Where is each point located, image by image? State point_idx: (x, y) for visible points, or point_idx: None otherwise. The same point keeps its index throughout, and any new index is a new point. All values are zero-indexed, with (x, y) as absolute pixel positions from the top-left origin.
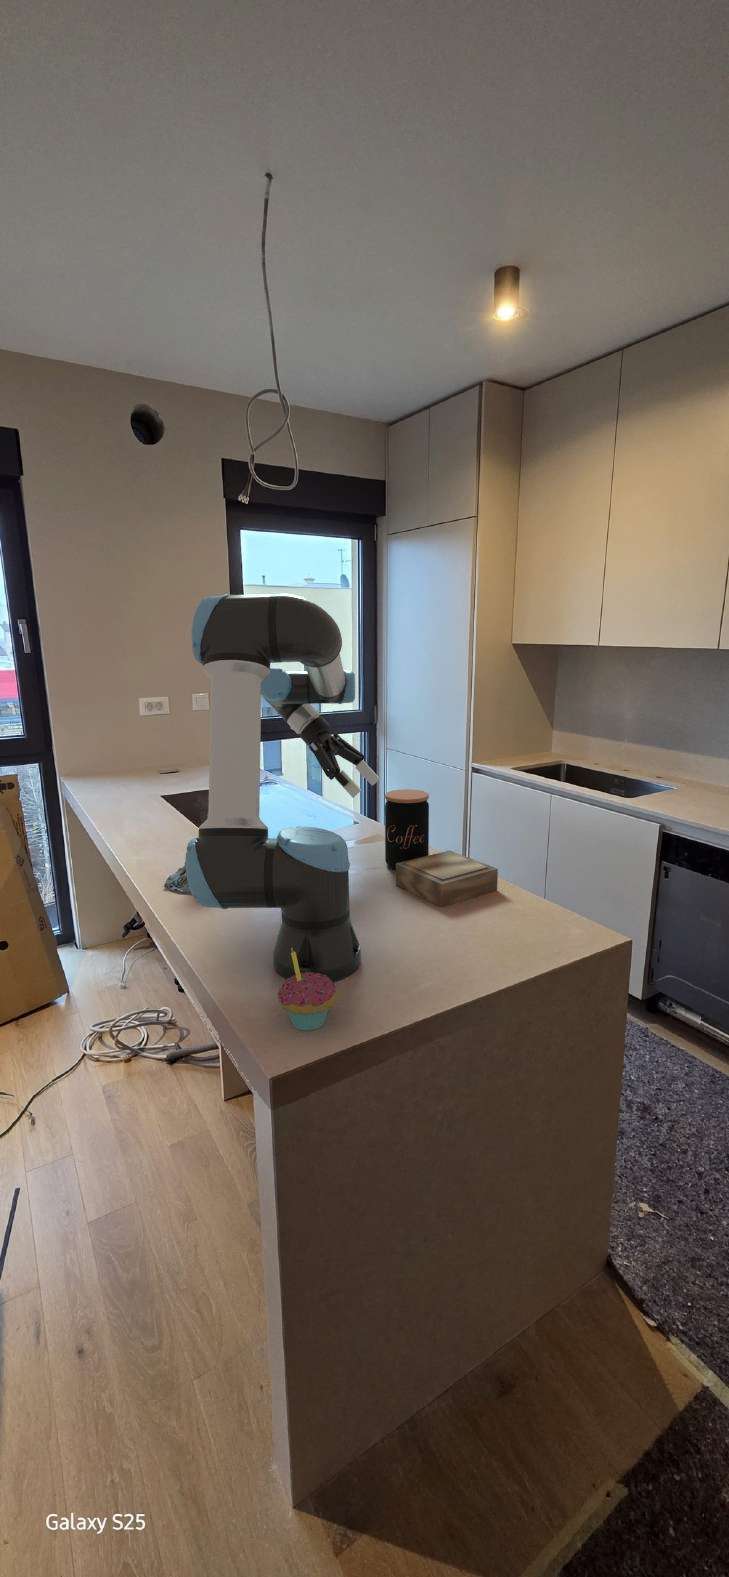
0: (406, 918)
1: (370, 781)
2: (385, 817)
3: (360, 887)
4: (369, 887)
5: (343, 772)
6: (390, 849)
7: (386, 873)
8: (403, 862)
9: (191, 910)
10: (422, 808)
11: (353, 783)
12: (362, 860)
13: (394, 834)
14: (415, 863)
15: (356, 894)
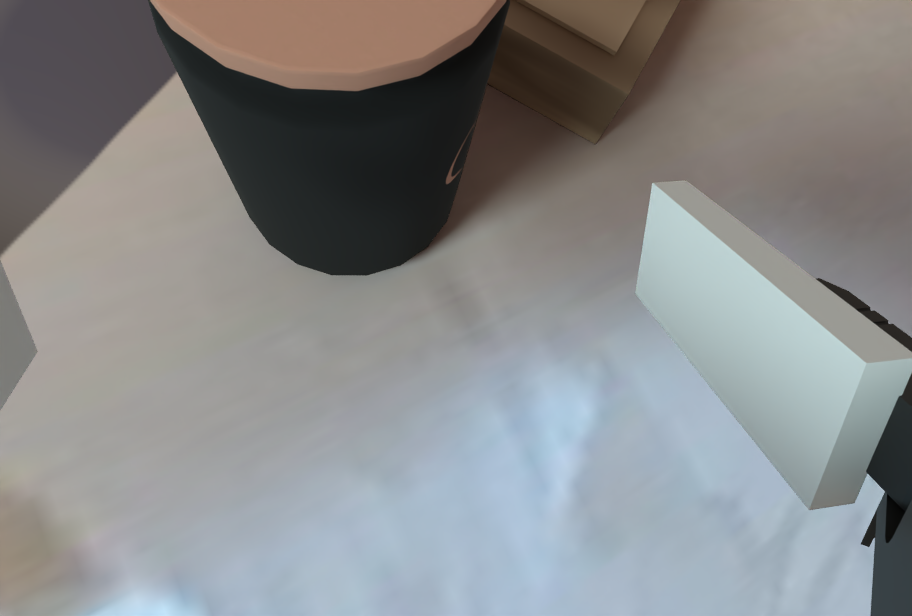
0: (841, 13)
1: (7, 364)
2: (427, 151)
3: None
4: None
5: (886, 334)
6: (456, 186)
7: (495, 227)
8: (599, 68)
9: None
10: None
11: (747, 228)
12: (374, 411)
13: (478, 113)
14: (603, 9)
15: None
